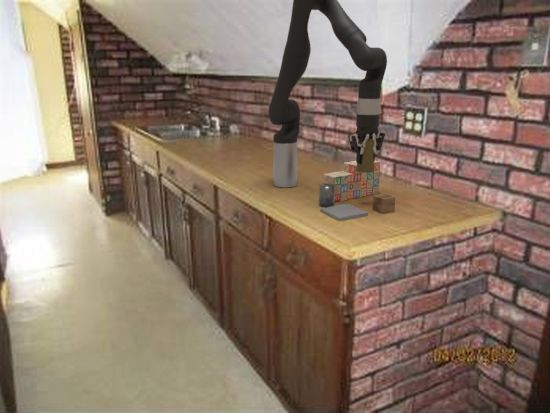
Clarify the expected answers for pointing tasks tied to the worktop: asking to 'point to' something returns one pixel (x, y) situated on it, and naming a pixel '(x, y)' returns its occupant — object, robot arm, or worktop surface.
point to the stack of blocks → (353, 182)
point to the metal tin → (326, 195)
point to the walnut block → (383, 203)
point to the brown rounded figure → (367, 157)
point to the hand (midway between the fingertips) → (365, 163)
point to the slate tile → (343, 212)
